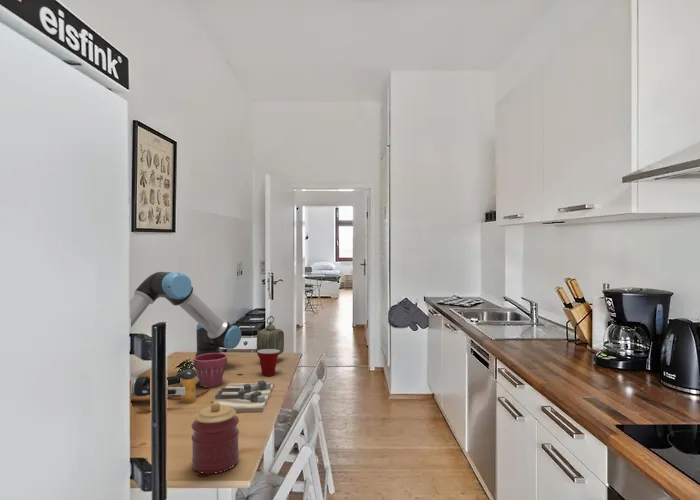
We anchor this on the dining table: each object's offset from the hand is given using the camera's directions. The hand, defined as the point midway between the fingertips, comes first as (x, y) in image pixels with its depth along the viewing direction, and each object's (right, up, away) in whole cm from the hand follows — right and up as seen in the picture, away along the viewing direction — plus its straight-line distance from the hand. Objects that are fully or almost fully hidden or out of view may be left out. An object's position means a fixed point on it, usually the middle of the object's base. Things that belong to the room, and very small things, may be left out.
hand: (190, 385), depth 172 cm
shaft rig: (+21, -6, +3) cm, 22 cm away
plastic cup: (+25, -6, +36) cm, 44 cm away
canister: (+26, -7, -50) cm, 56 cm away
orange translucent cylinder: (-1, -7, 0) cm, 7 cm away
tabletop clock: (+22, -6, +58) cm, 62 cm away
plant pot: (+1, -7, +21) cm, 22 cm away
